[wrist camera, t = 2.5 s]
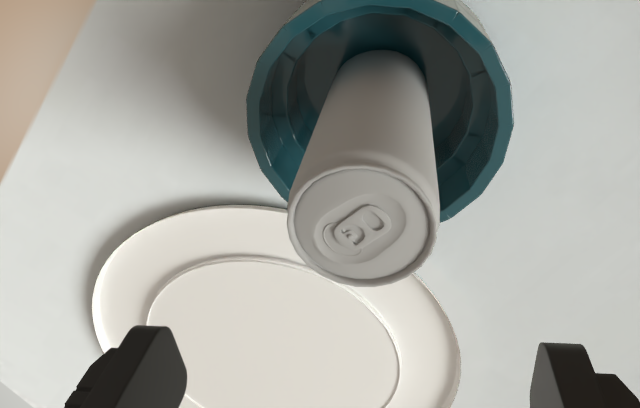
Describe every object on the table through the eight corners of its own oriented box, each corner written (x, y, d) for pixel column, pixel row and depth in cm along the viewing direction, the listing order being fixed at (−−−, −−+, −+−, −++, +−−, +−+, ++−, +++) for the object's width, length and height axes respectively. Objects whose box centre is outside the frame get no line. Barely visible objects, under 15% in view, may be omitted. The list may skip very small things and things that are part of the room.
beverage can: (313, 88, 25) (250, 220, 15) (385, 22, 23) (367, 127, 13) (374, 152, 26) (354, 312, 16) (447, 97, 24) (476, 243, 14)
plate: (243, 478, 48) (241, 486, 48) (25, 290, 37) (19, 296, 37) (521, 420, 37) (523, 429, 36) (324, 125, 26) (322, 130, 25)
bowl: (233, 98, 26) (200, 138, 22) (371, -89, 21) (361, -83, 16) (385, 217, 29) (381, 272, 25) (544, 81, 23) (574, 122, 19)
